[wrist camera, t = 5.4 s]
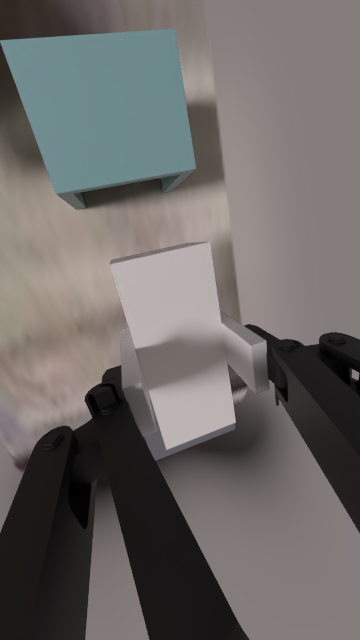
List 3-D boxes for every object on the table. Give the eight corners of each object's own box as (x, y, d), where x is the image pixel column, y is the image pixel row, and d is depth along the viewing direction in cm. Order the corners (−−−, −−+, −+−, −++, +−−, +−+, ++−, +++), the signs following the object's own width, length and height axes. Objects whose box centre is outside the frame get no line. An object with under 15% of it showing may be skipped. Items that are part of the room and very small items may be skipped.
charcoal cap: (130, 367, 28) (135, 410, 21) (201, 344, 29) (227, 378, 22) (145, 409, 30) (153, 461, 23) (209, 387, 32) (235, 428, 25)
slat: (111, 260, 14) (109, 264, 10) (186, 243, 15) (209, 241, 11) (156, 409, 18) (166, 449, 14) (212, 388, 19) (235, 422, 15)
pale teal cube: (44, 116, 18) (-1, 40, 11) (155, 103, 20) (174, 28, 13) (76, 209, 21) (55, 193, 14) (172, 191, 22) (196, 168, 16)
